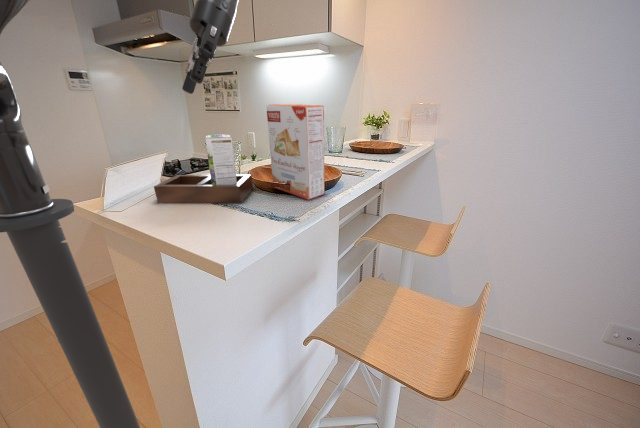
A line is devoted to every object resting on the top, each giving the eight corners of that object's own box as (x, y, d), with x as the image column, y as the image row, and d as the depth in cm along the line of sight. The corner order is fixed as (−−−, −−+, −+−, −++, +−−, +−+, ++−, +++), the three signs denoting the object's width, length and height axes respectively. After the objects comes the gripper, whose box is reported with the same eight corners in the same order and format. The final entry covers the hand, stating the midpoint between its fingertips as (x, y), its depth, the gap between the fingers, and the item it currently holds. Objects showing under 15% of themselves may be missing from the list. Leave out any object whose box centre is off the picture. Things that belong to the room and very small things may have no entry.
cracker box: (271, 189, 75) (264, 104, 67) (289, 184, 79) (284, 103, 71) (307, 201, 66) (304, 104, 58) (325, 195, 70) (325, 104, 62)
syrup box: (213, 193, 72) (203, 134, 67) (237, 191, 74) (230, 133, 69) (214, 200, 67) (204, 137, 62) (239, 197, 69) (232, 136, 64)
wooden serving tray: (157, 203, 66) (153, 186, 65) (179, 189, 76) (176, 174, 75) (241, 203, 66) (239, 186, 64) (252, 189, 75) (251, 174, 74)
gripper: (189, 17, 62) (166, 86, 62) (204, -19, 51) (176, 65, 50) (222, 38, 67) (201, 103, 66) (243, 9, 55) (218, 87, 54)
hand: (191, 86), depth 58 cm, fingers open, 8 cm apart
